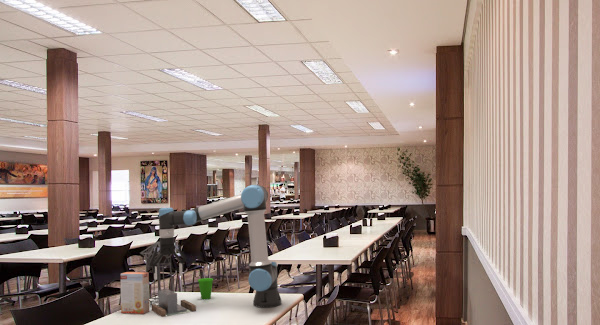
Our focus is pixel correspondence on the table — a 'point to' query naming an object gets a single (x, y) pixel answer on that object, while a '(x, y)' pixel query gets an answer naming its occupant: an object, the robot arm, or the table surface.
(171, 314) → the pad
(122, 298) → the cracker box
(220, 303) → the table surface
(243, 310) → the table surface
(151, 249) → the geometric lantern
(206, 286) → the cup
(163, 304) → the angle bracket
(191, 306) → the bay walls
